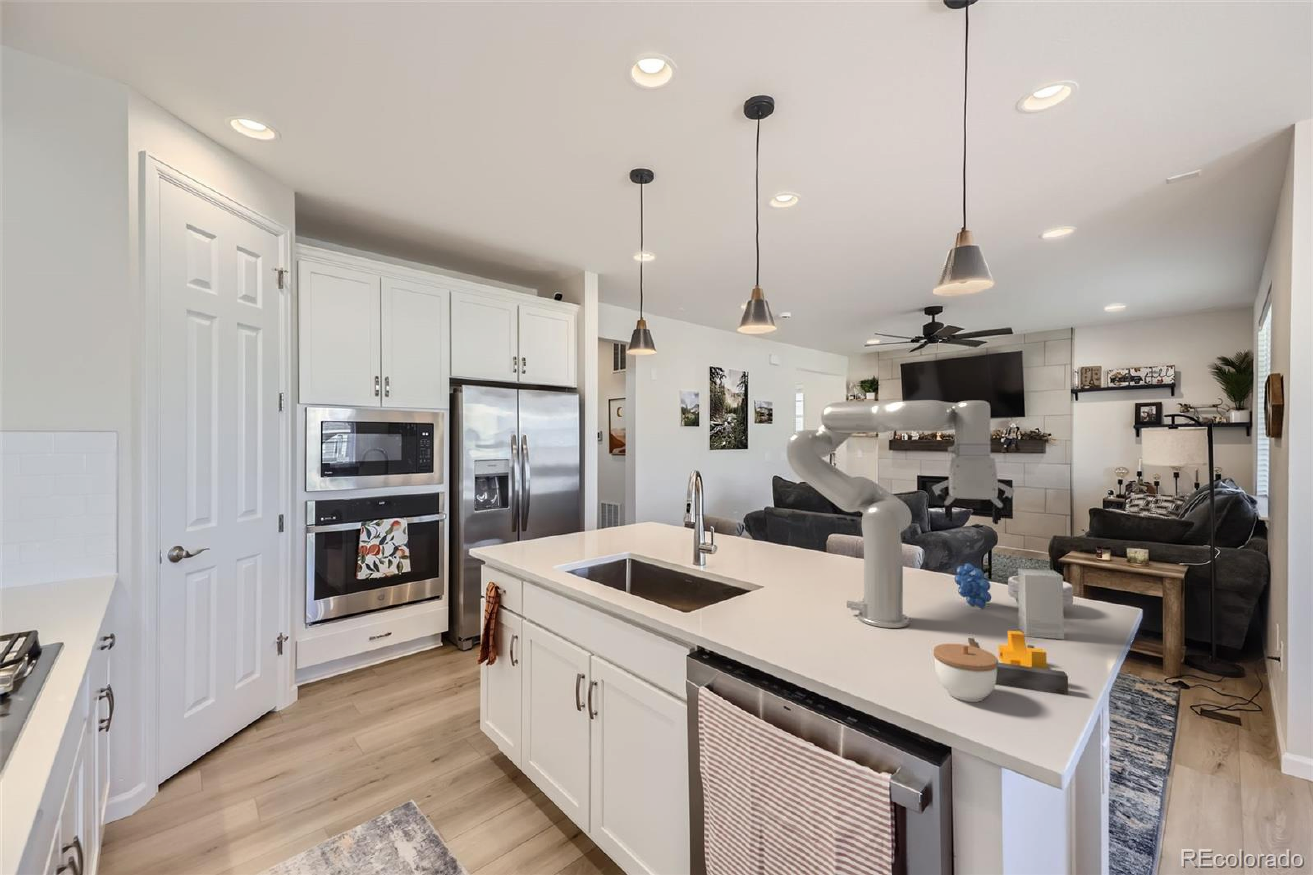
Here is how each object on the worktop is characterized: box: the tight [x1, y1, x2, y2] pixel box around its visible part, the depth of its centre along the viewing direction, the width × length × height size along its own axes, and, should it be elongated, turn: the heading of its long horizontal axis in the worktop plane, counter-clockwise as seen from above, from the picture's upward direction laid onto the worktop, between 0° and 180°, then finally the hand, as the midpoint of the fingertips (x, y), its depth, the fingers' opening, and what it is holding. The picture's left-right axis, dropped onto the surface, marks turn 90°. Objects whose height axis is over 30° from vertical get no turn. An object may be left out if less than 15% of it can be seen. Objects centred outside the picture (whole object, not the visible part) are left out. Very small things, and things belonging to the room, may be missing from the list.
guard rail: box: [967, 637, 1069, 696], centre depth 118 cm, size 14×24×4 cm, turn 157°
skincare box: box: [1017, 568, 1065, 640], centre depth 136 cm, size 8×7×16 cm
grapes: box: [954, 563, 992, 609], centre depth 159 cm, size 12×7×12 cm, turn 19°
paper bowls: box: [1007, 575, 1074, 610], centre depth 157 cm, size 15×15×8 cm
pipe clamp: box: [998, 630, 1047, 669], centre depth 115 cm, size 12×4×6 cm, turn 167°
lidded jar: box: [933, 643, 999, 703], centre depth 105 cm, size 11×11×9 cm
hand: (972, 522), depth 133 cm, fingers open, 9 cm apart
